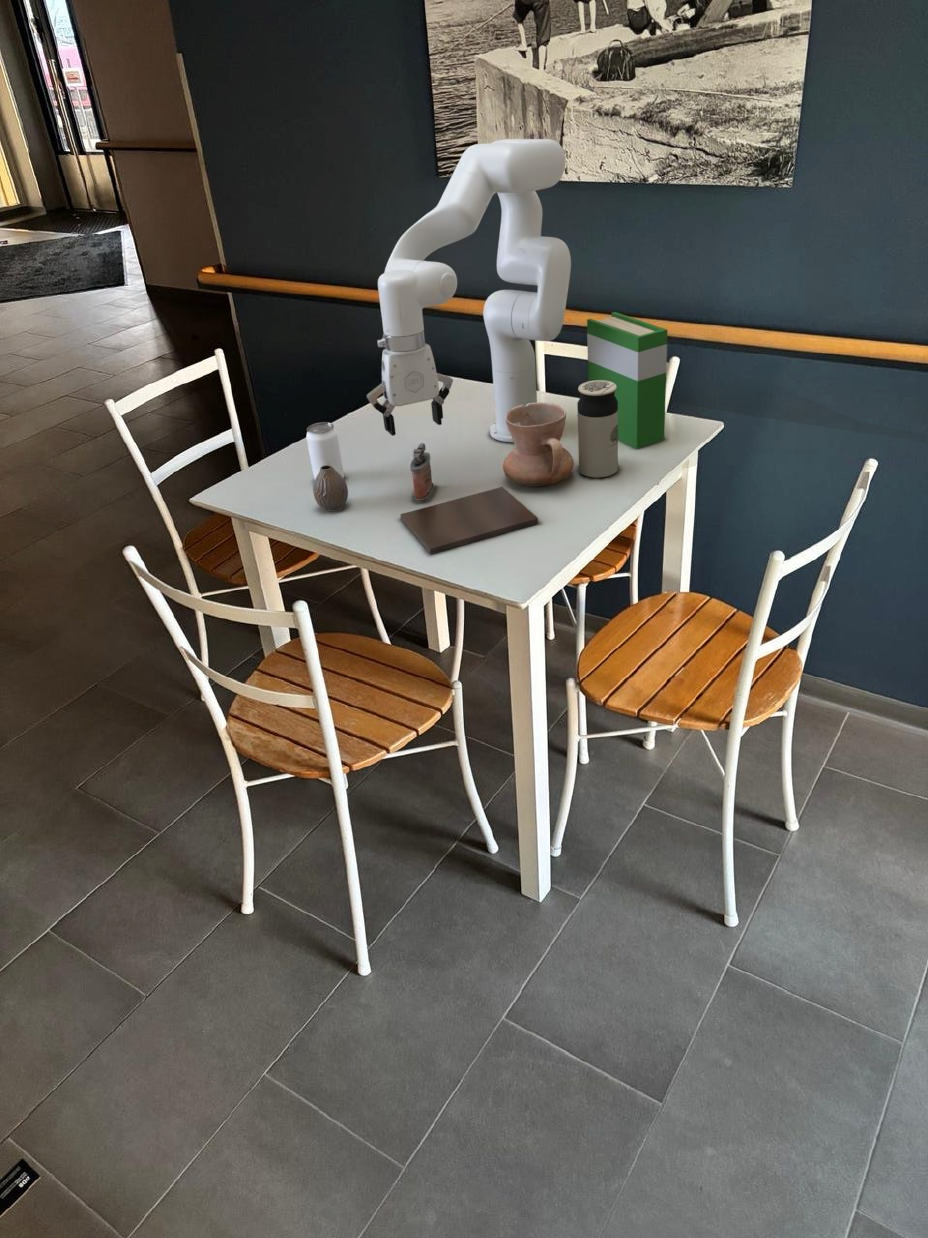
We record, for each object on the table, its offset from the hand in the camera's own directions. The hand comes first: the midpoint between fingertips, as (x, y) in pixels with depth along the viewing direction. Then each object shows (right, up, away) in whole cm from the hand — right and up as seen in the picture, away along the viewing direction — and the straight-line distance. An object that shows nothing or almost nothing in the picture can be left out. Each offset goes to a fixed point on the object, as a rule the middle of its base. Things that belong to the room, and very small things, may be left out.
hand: (414, 427), depth 185 cm
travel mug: (+38, -7, +10) cm, 40 cm away
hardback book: (+46, +4, +26) cm, 53 cm away
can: (-19, -8, +18) cm, 28 cm away
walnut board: (+11, -19, -3) cm, 22 cm away
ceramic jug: (+25, -9, +9) cm, 28 cm away
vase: (-17, -15, +7) cm, 24 cm away
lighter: (+2, -12, +8) cm, 15 cm away
